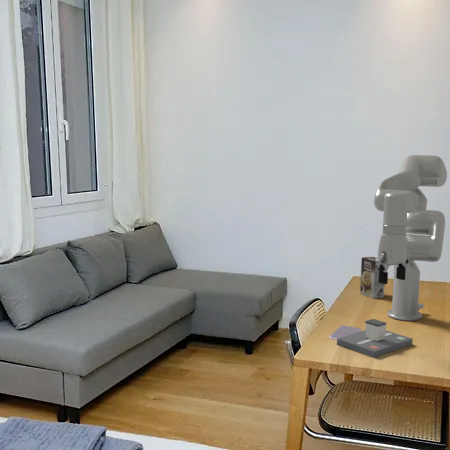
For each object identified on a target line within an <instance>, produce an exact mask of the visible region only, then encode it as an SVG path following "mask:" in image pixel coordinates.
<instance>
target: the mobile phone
mask: <svg viewBox="0 0 450 450" xmlns="http://www.w3.org/2000/svg"><path fill="white" fill-rule="evenodd" d="M361 331H362V329H361V328H359V327H356V326H355V327H354V326H347V325H340V326H339V327H338V328H337V329H335V331H334V332H332V333H331V334H330V335H329V337H328V338H329V339H331V340H336V341H337V338H341V337H344V336H347V335H351V334H354V333H358V332H361Z"/></svg>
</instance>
